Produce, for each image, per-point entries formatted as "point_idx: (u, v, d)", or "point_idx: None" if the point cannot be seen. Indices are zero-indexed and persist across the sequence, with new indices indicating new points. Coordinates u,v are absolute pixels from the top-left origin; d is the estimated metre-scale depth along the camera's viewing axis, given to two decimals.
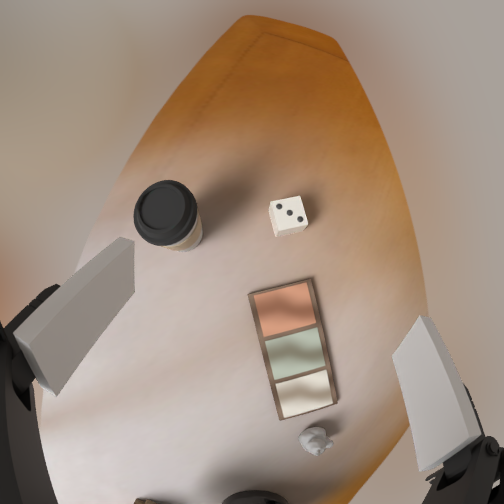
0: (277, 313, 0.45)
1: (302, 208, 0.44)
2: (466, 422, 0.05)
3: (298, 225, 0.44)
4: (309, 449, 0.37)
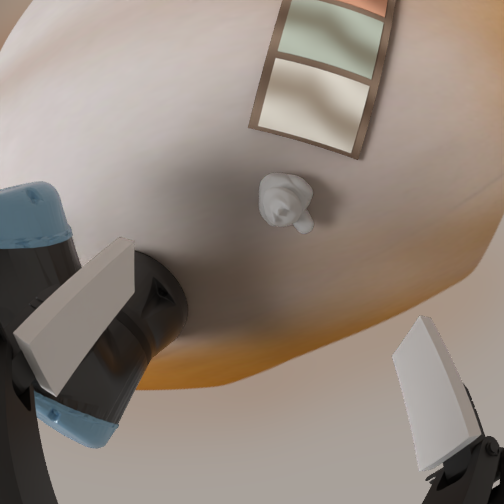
0: None
1: None
2: (466, 422, 0.05)
3: None
4: (267, 201, 0.23)
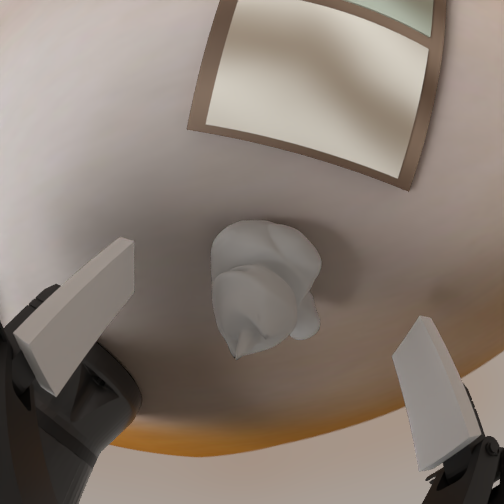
0: None
1: None
2: (466, 422, 0.05)
3: None
4: (218, 304, 0.10)
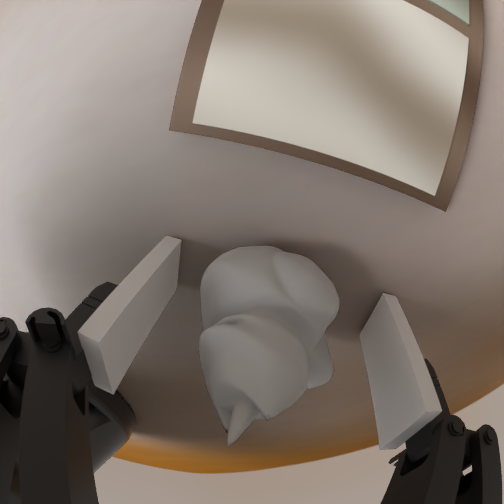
0: None
1: None
2: (424, 397, 0.06)
3: None
4: (207, 365, 0.07)
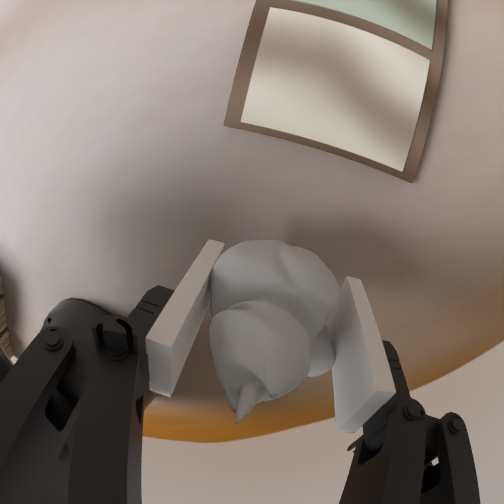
0: None
1: None
2: (377, 376, 0.07)
3: None
4: (217, 348, 0.08)
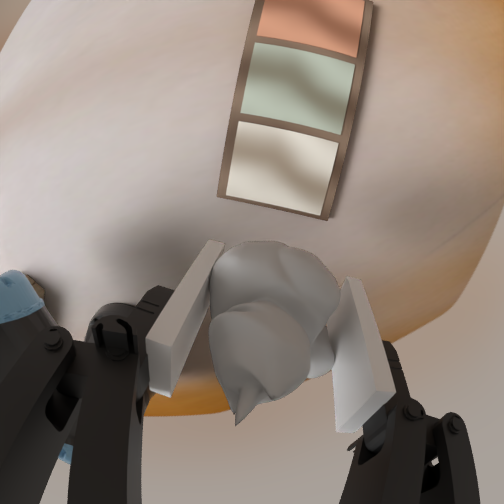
0: (296, 13, 0.17)
1: None
2: (377, 376, 0.07)
3: None
4: (216, 350, 0.08)
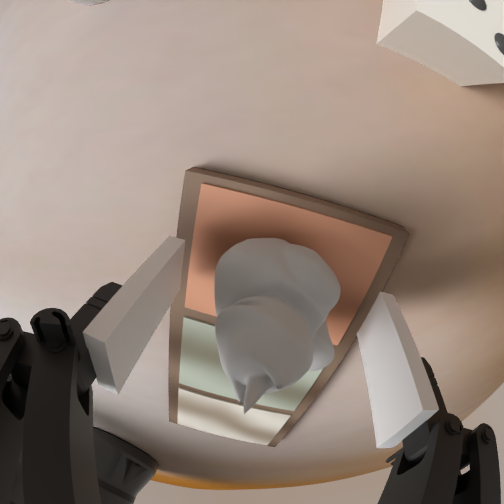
0: None
1: None
2: (421, 395, 0.07)
3: (492, 55, 0.04)
4: (223, 342, 0.08)
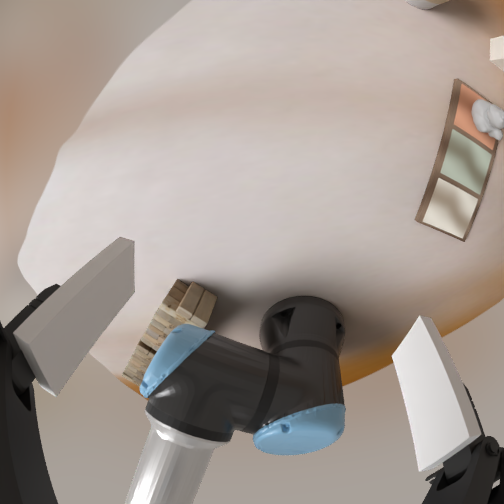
0: None
1: None
2: (466, 422, 0.05)
3: None
4: (493, 111, 0.21)
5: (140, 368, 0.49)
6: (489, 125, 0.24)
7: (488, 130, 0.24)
